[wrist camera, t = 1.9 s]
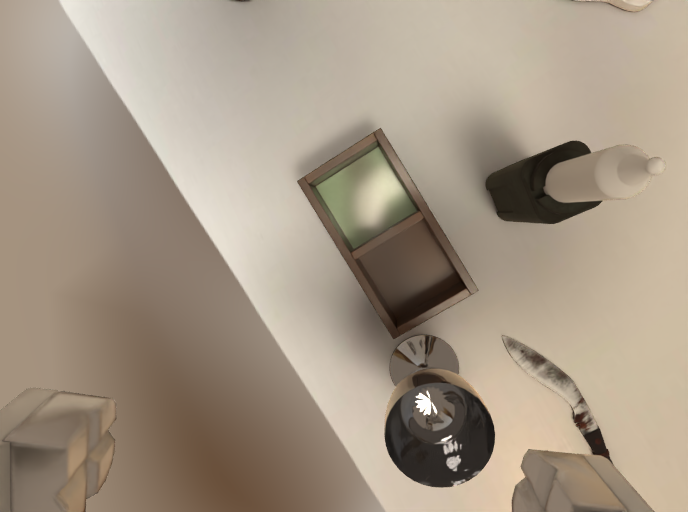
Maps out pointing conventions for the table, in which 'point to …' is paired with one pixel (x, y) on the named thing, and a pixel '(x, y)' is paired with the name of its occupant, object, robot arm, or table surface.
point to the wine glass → (435, 416)
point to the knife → (559, 390)
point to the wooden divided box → (387, 234)
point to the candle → (569, 181)
